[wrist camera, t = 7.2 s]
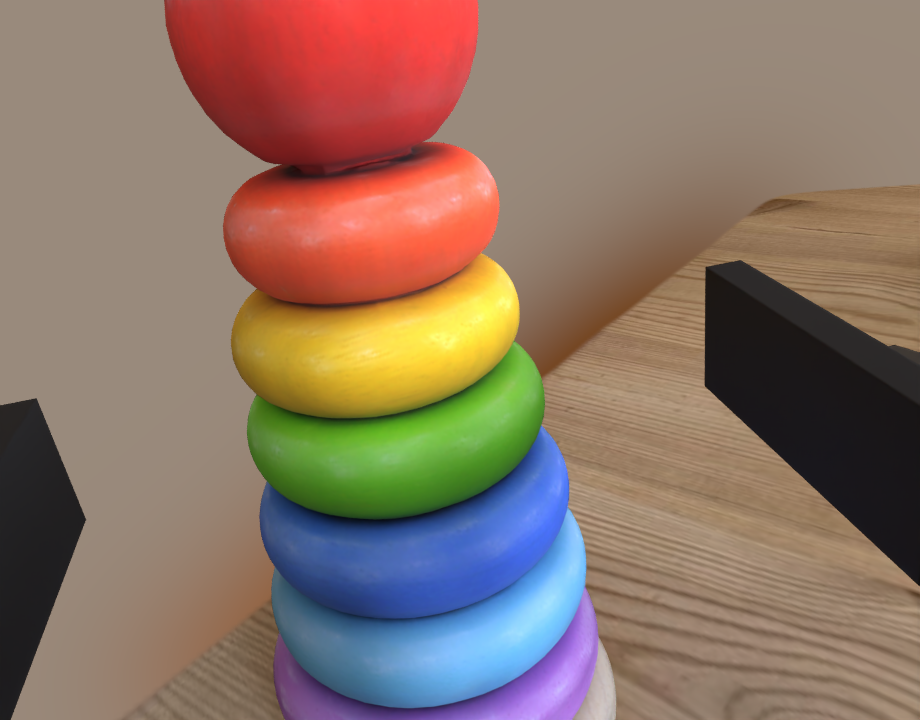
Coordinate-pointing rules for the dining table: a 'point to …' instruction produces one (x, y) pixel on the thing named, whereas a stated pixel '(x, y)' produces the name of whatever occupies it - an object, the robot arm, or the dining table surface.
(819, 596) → the dining table surface
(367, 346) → the stacking toy
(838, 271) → the dining table surface
